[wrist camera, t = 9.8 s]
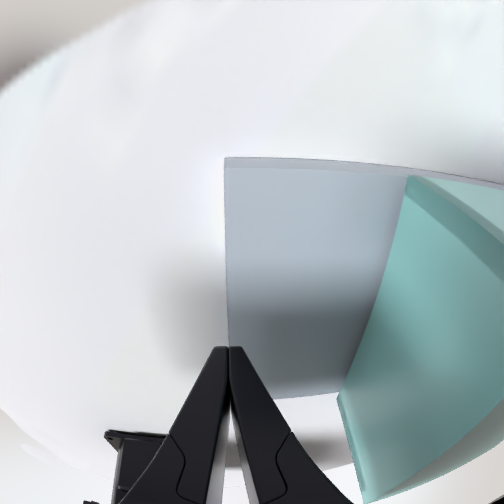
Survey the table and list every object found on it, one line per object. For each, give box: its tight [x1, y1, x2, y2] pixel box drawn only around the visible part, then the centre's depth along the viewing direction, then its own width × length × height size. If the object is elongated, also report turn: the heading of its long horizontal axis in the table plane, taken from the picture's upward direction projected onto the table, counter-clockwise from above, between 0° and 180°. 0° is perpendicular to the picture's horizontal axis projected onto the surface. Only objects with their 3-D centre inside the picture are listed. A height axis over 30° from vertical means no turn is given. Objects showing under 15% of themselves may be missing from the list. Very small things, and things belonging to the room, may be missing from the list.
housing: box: [337, 175, 504, 504], centre depth 8 cm, size 11×8×6 cm
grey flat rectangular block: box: [224, 158, 504, 399], centre depth 11 cm, size 10×25×3 cm, turn 89°
